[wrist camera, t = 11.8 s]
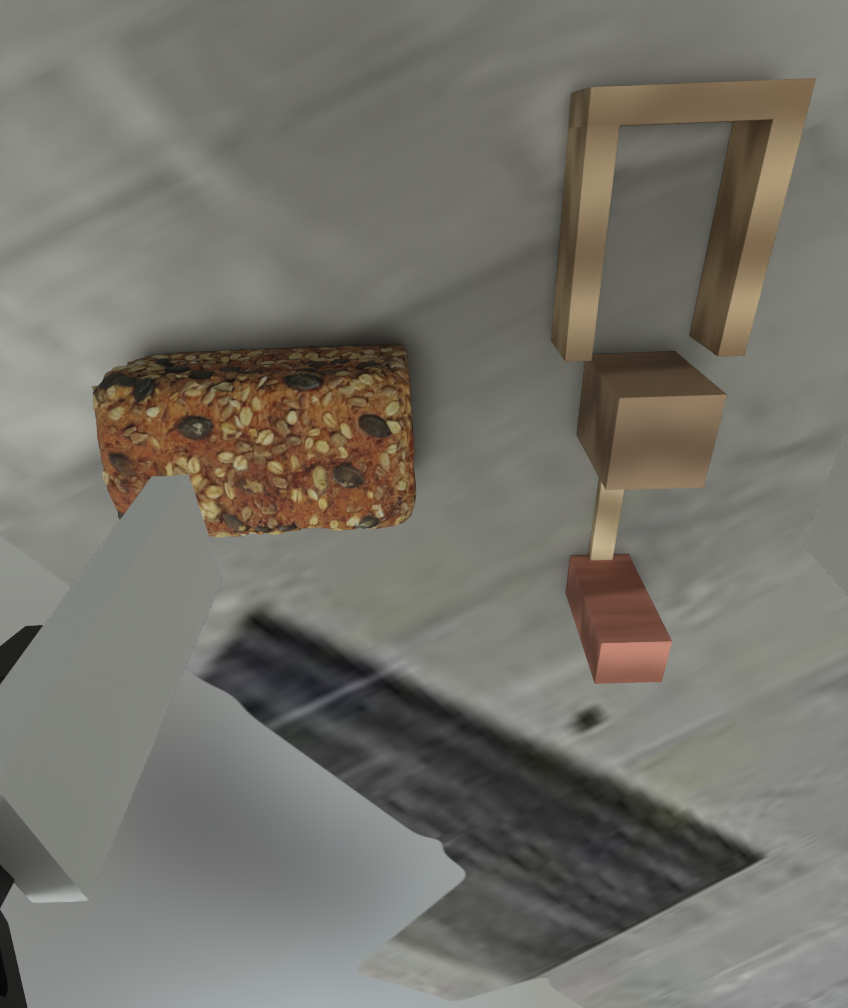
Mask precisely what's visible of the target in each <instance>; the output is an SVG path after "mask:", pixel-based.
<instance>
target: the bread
mask: <svg viewBox="0 0 848 1008" xmlns="http://www.w3.org/2000/svg"><path fill="white" fill-rule="evenodd" d="M92 388H93V390H94V391H93V408H94V410H95V415H96V423H97V438H98V443H99V448H100V454H101V460H102V464H103V467H104V469H103V479H104V482H105V483H106V484H107V489H108V492H109V494H110V496H111V498H112V501H113V503H114V505H115V507H116V509H117V511H118V517H119V519H121V518H122V517H123V515H124V514H125V512H126V511H127V510H128V508H129V507H130V506H131V504H132V503H133V501H134V500H135V499H136V497H137V496H138V495H139V493H140V492H141V491H142V489H143V488H144V486H145V485H146V484H147V482H148V481H149V480H150V478H151V477H156V476H173V475H189V477H190V480H191V483H192V486H193V489H194V492H195V495H196V498H197V501H198V504H199V507H200V510H201V514H202V517H203V520H204V523H205V526H206V529H207V532H208V535H209V536H211V537H217V538H219V537H225V536H230V537H236V536H245V535H247V534H259V535H261V534H263V533H267V534H271V535H278V534H282V533H284V532H288V531H289V532H290V531H297V530H300V529H302V528H327V529H332V530H339V531H342V530H351V529H356V528H363V529H365V528H370V529H378V528H384V527H390V526H397V525H398V524H401V523H403V522H405V521H406V520H407V519H408V518H409V517H410V516H411V515H412V510H413V508H414V506H415V500H416V483H415V473H414V459H413V458H414V440H413V426H412V410H411V392H410V379H409V367H408V360H407V354H406V350H405V349H404V348H403V346H402V345H373V346H339V347H336V348H332V347H314V346H311V347H302V348H299V347H295V348H277V349H258V350H254V349H241V350H238V351H229V350H222V351H208V352H186V353H178V354H171V355H154V356H147V357H145V358H140V359H137V360H134V361H132V362H128V365H127V366H118V367H114V368H113V369H112V370H111V371H109V372H107V373H106V374H105V376H104V379H103V381H102V382H101V383H100V384H99V385H98V386H92Z"/></svg>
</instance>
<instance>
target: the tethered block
mask: <svg viewBox="0 0 848 1008" xmlns="http://www.w3.org/2000/svg"><path fill="white" fill-rule="evenodd" d="M726 397H727V394H726V393H724V392H723V391H722V390H721V389H720V388H718V387H717V386H716V385H715V384H714V383H712V382H711V381H710V380H709V379H708V378H706V377H705V376H704V375H703V374H702V373H700V372H699V371H698V370H697V369H695V368H694V367H693V366H692V365H691V364H689V363H688V362H687V361H686V360H685V359H683V358H682V357H681V356H680V355H679V354H677V353H676V352H675V351H668V352H638V353H608V354H592V361H585V365H584V374H583V383H582V392H581V401H580V410H579V418H578V427H577V437H578V439H579V440H580V442H581V444H582V446H583V448H584V450H585V452H586V454H587V456H588V457H589V459H590V461H591V463H592V465H593V467H594V469H595V471H596V473H597V474H598V476H599V483H598V490H597V497H596V505H595V512H594V519H593V526H592V533H591V540H590V547H589V554H588V555H577V556H570V562H569V570H568V578H567V586H566V595H567V598H568V602H569V605H570V608H571V611H572V614H573V617H574V620H575V624H576V627H577V630H578V633H579V636H580V639H581V642H582V645H583V649H584V652H585V655H586V658H587V661H588V664H589V667H590V670H591V674H592V677H593V680H594V683H595V684H597V683H636V682H662V679H663V675H664V671H665V667H666V663H667V659H668V655H669V651H670V648H671V644H672V640H671V638H670V636H669V634H668V632H667V630H666V628H665V626H664V624H663V622H662V620H661V618H660V616H659V614H658V612H657V610H656V608H655V606H654V604H653V602H652V600H651V598H650V596H649V594H648V592H647V590H646V588H645V586H644V584H643V582H642V580H641V578H640V576H639V574H638V572H637V570H636V568H635V566H634V564H633V562H632V560H631V558H630V556H629V554H614V548H615V542H616V536H617V530H618V524H619V518H620V512H621V506H622V500H623V494H624V490H628V489H661V488H694V487H704V484H705V480H706V476H707V472H708V468H709V464H710V460H711V457H712V453H713V449H714V445H715V441H716V437H717V433H718V429H719V425H720V421H721V417H722V413H723V409H724V405H725V401H726Z"/></svg>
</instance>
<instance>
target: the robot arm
mask: <svg viewBox="0 0 848 1008" xmlns="http://www.w3.org/2000/svg"><path fill="white" fill-rule="evenodd" d="M803 546H804V547H805V548H806V549H807V550H808V551H809V553H810V554H811V555H812V556H813V557H814V558H815V559H816V560H817V561H818V563H819V564H820V565H821V566H822V567H823V568H824V569H825V570H826V571H827V573H828V574H829V575H830V576H831V577H832V578H833V579H834V580H835V581H836V583H837V584H838V585H839V586H840V587H841V588H842V589H843V590H844V591H845V593H846V594H847V595H848V435H844V437H843V440H842V442H841V445H840V448H839V450H838V453H837V456H836V459H835V461H834V464H833V467H832V469H831V472H830V475H829V477H828V480H827V483H826V485H825V488H824V491H823V494H822V496H821V499H820V502H819V504H818V507H817V510H816V512H815V515H814V518H813V521H812V523H811V526H810V529H809V531H808V534H807V537H806V539H805V542H804V545H803ZM222 578H223V577H222V574H221V571H220V568H219V565H218V562H217V559H216V556H215V553H214V550H213V547H212V544H211V541H210V538H209V535H208V532H207V529H206V526H205V523H204V520H203V517H202V514H201V510H200V507H199V504H198V501H197V498H196V495H195V492H194V489H193V486H192V483H191V480H190V477H189V475H173V476H156V477H151V478H150V480H149V481H148V482H147V484H146V485H145V486H144V488H143V489H142V491H141V492H140V493H139V495H138V496H137V497H136V499H135V500H134V501H133V503H132V504H131V506H130V507H129V508H128V510H127V511H126V512H125V514H124V515H123V517H122V518H121V519H120V521H119V522H118V523H117V525H116V526H115V528H114V529H113V530H112V532H111V533H110V534H109V536H108V537H107V539H106V540H105V541H104V543H103V544H102V545H101V547H100V548H99V550H98V551H97V552H96V554H95V555H94V556H93V558H92V559H91V561H90V562H89V563H88V565H87V566H86V567H85V569H84V570H83V572H82V573H81V574H80V576H79V577H78V578H77V580H76V581H75V583H74V584H73V585H72V587H71V588H70V589H69V591H68V592H67V594H66V595H65V596H64V598H63V599H62V600H61V602H60V603H59V605H58V606H57V607H56V609H55V610H54V611H53V613H52V614H51V616H50V617H49V618H48V620H47V621H46V623H45V624H44V625H38V626H25V627H24V628H23V629H21V630H20V631H19V632H18V633H16V634H15V635H14V636H13V637H11V638H10V639H9V640H7V641H6V642H5V643H4V644H3V645H1V646H0V908H1V905H2V903H3V902H4V900H5V898H6V896H7V894H8V892H9V890H10V888H11V887H12V884H13V883H15V884H16V885H17V886H18V888H19V889H20V890H21V891H22V892H23V893H24V894H25V895H26V896H27V897H28V898H29V899H30V900H31V901H32V902H33V903H43V902H66V901H88V900H89V898H90V896H91V893H92V891H93V888H94V886H95V884H96V881H97V879H98V876H99V874H100V872H101V869H102V867H103V864H104V862H105V860H106V857H107V855H108V853H109V850H110V847H111V845H112V843H113V840H114V838H115V835H116V833H117V831H118V828H119V826H120V823H121V821H122V819H123V816H124V814H125V812H126V809H127V807H128V804H129V802H130V799H131V797H132V795H133V792H134V790H135V788H136V785H137V782H138V780H139V778H140V776H141V773H142V771H143V768H144V766H145V763H146V761H147V759H148V756H149V754H150V751H151V749H152V747H153V744H154V742H155V739H156V737H157V735H158V732H159V730H160V727H161V725H162V722H163V720H164V718H165V715H166V713H167V711H168V708H169V706H170V703H171V701H172V698H173V696H174V694H175V691H176V689H177V687H178V684H179V682H180V679H181V677H182V675H183V672H184V670H185V667H186V665H187V663H188V660H189V658H190V655H191V653H192V650H193V648H194V646H195V643H196V641H197V638H198V636H199V634H200V631H201V629H202V626H203V624H204V622H205V619H206V617H207V614H208V612H209V610H210V607H211V605H212V602H213V600H214V598H215V595H216V593H217V590H218V588H219V586H220V583H221V581H222ZM0 1008H27V1003H26V999H25V995H24V990H23V986H22V982H21V977H20V973H19V968H18V964H17V960H16V955H15V951H14V947H13V942H12V938H11V933H10V929H9V925H8V922H7V920H6V919H5V917H4V915H3V914H2V912H1V911H0Z"/></svg>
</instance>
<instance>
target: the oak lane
mask: <svg viewBox="0 0 848 1008" xmlns="http://www.w3.org/2000/svg"><path fill="white" fill-rule="evenodd" d="M815 81H816V78H809V79H784V80H759V81H733V82H708V83H683V84H658V85H632V86H607V87H590V88H587V89H584V90H581V91H577V92H574V93H572V94H571V106H570V118H569V131H568V143H567V155H566V167H565V180H564V192H563V204H562V217H561V229H560V241H559V254H558V266H557V278H556V291H555V303H554V315H553V327H552V340H551V341H552V342H553V344H554V345H555V347H556V348H557V350H558V351H559V353H560V354H561V356H562V358H563V359H564V361H565V362H567V361H592V353H593V345H594V336H595V328H596V320H597V311H598V303H599V295H600V286H601V278H602V269H603V261H604V253H605V244H606V236H607V228H608V219H609V211H610V202H611V194H612V186H613V177H614V169H615V160H616V152H617V144H618V135H619V127H620V126H633V125H659V124H685V123H711V122H733V126H732V131H731V136H730V141H729V146H728V150H727V155H726V160H725V165H724V170H723V175H722V180H721V185H720V190H719V195H718V199H717V204H716V209H715V214H714V219H713V224H712V229H711V234H710V239H709V244H708V248H707V253H706V258H705V263H704V268H703V273H702V278H701V283H700V288H699V293H698V297H697V302H696V307H695V312H694V317H693V322H692V327H691V332H690V337H692V338H693V339H695V340H696V341H697V342H699V343H700V344H701V345H703V346H704V347H706V348H707V349H708V350H710V351H711V352H712V353H714V354H715V355H717V356H745V352H746V348H747V344H748V341H749V337H750V333H751V329H752V325H753V321H754V317H755V313H756V310H757V306H758V302H759V298H760V294H761V290H762V286H763V282H764V279H765V275H766V271H767V267H768V263H769V259H770V255H771V251H772V247H773V244H774V240H775V236H776V232H777V228H778V224H779V220H780V216H781V213H782V209H783V205H784V201H785V197H786V193H787V189H788V185H789V181H790V178H791V174H792V170H793V166H794V162H795V158H796V154H797V150H798V147H799V143H800V139H801V135H802V131H803V127H804V123H805V119H806V115H807V112H808V108H809V104H810V100H811V96H812V92H813V88H814V84H815Z"/></svg>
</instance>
